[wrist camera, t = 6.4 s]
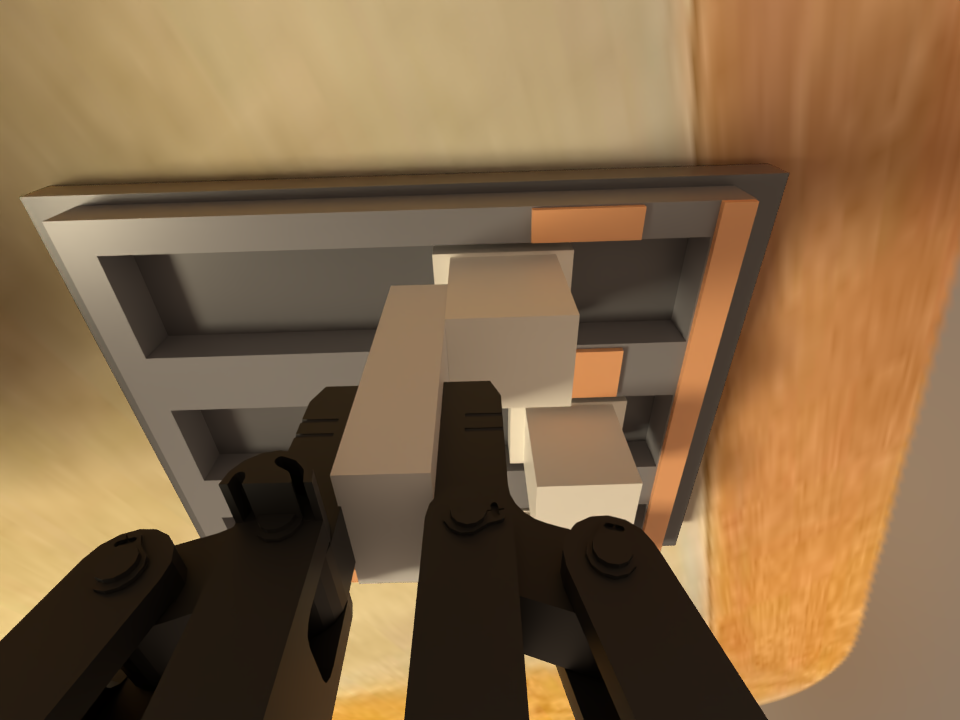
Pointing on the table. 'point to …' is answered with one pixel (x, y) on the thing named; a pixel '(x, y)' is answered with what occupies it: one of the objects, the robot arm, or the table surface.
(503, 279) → the tab front
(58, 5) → the table surface
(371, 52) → the table surface
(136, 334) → the slotted block puzzle
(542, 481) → the tab mid
